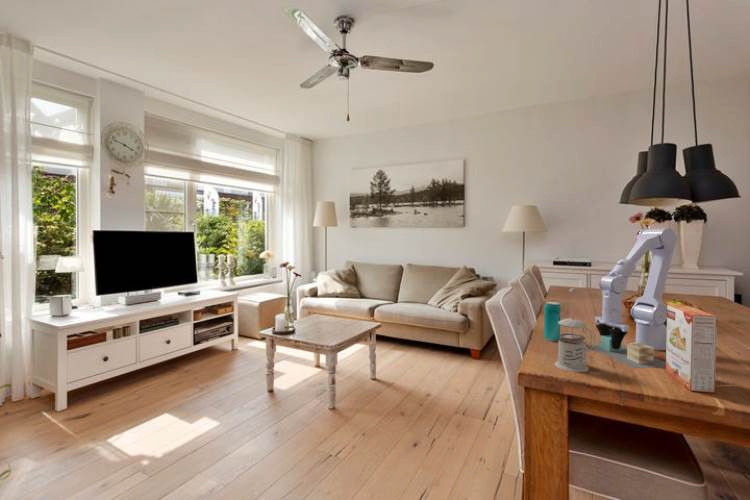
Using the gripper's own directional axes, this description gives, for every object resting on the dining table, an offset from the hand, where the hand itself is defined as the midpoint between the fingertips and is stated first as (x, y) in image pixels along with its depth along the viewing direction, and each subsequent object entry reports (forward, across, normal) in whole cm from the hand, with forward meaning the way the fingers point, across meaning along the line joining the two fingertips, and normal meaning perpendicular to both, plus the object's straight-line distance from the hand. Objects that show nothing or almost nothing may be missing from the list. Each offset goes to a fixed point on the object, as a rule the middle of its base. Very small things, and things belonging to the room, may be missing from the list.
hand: (610, 346), depth 133 cm
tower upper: (-1, +12, +1) cm, 12 cm away
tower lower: (+1, +12, +1) cm, 12 cm away
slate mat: (+1, +6, +1) cm, 7 cm away
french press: (+2, +14, -23) cm, 27 cm away
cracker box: (+2, +29, +1) cm, 29 cm away
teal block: (+1, 0, 0) cm, 1 cm away
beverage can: (+2, -14, -14) cm, 20 cm away
